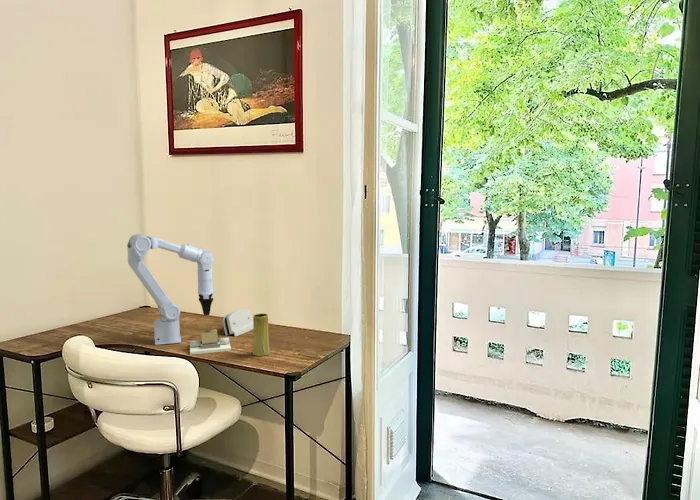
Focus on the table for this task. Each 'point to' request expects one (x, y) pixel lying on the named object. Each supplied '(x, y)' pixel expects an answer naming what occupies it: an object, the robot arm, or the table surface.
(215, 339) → the coupler
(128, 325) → the table surface
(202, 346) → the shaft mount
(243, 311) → the hinge
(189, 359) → the table surface
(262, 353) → the vase
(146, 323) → the table surface
